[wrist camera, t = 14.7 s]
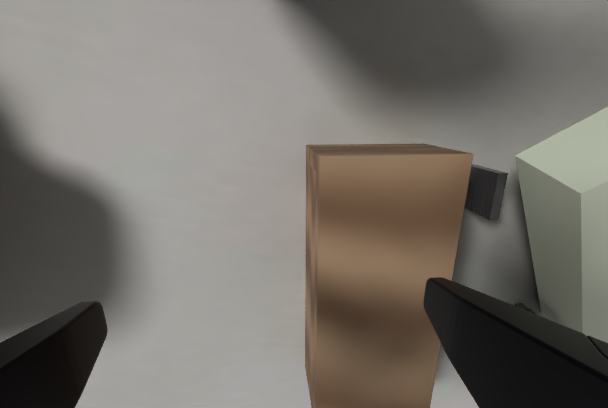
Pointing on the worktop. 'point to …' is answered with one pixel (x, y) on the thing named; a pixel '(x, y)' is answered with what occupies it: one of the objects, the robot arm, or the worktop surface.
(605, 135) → the rectangular block
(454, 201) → the cabinet
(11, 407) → the robot arm
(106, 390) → the worktop surface
